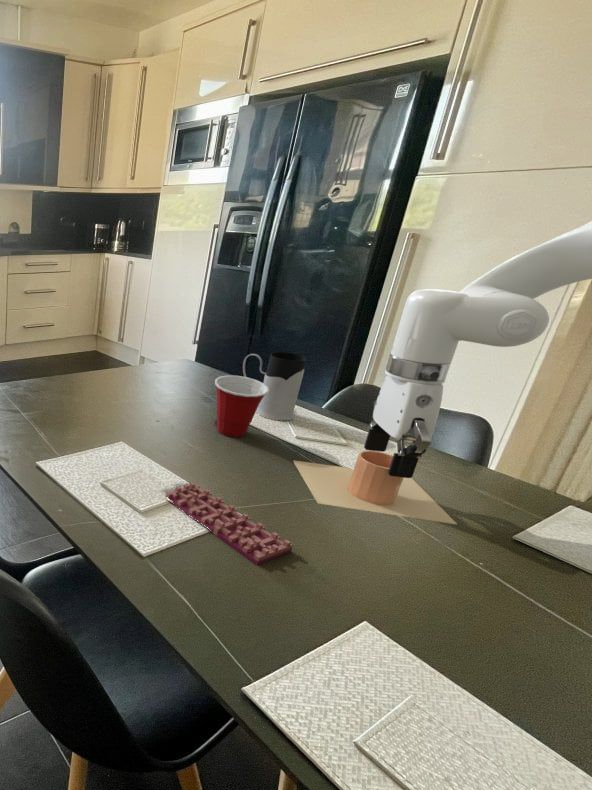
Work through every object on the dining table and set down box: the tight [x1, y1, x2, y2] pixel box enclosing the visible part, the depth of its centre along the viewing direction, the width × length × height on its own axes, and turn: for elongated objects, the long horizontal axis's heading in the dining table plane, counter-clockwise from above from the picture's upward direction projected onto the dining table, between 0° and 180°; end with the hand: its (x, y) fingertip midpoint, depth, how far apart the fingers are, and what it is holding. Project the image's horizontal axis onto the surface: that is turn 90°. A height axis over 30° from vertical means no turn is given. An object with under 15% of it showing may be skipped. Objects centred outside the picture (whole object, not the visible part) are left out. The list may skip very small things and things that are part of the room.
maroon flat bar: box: [165, 482, 294, 566], centre depth 78 cm, size 7×19×2 cm, turn 24°
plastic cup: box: [214, 375, 269, 438], centre depth 109 cm, size 11×11×12 cm
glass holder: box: [242, 351, 307, 422], centre depth 121 cm, size 9×14×15 cm, turn 39°
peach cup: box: [348, 450, 403, 505], centre depth 86 cm, size 7×7×7 cm
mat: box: [292, 460, 458, 525], centre depth 87 cm, size 20×20×1 cm
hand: (386, 462), depth 84 cm, fingers open, 9 cm apart
